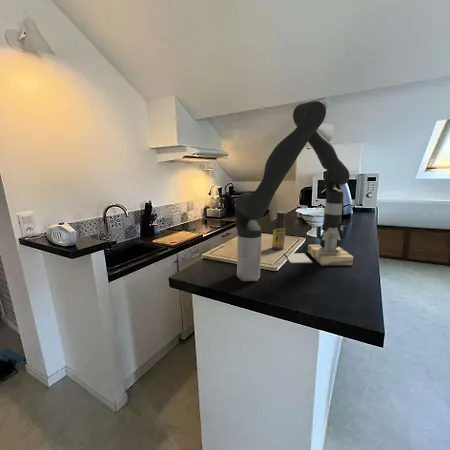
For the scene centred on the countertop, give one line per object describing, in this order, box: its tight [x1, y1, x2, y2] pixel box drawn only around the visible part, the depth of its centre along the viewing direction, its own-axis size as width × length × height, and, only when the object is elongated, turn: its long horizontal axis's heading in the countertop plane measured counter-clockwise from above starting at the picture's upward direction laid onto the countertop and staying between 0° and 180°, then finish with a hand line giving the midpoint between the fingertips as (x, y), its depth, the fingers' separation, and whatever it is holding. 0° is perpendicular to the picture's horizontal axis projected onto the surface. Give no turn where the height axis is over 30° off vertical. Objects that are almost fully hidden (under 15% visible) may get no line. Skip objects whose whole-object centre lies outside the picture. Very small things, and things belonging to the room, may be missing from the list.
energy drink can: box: [322, 228, 339, 253], centre depth 123 cm, size 6×6×15 cm
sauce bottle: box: [271, 211, 286, 250], centre depth 136 cm, size 6×6×20 cm
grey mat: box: [287, 252, 314, 264], centre depth 124 cm, size 12×10×1 cm
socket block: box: [307, 244, 354, 266], centre depth 124 cm, size 18×14×4 cm
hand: (329, 247), depth 123 cm, fingers closed on energy drink can, 6 cm apart
